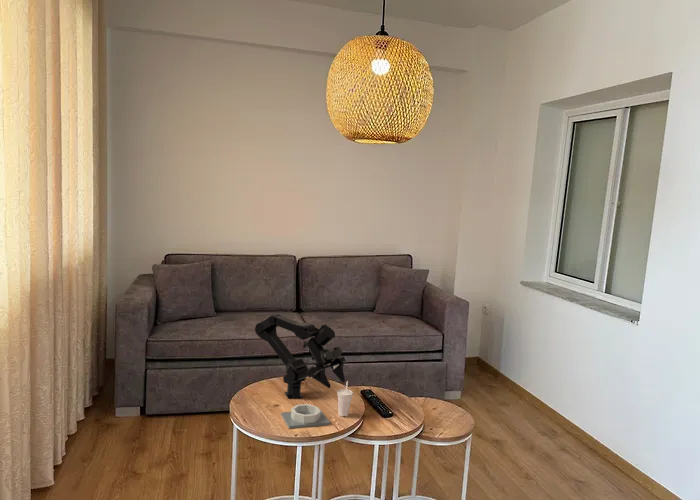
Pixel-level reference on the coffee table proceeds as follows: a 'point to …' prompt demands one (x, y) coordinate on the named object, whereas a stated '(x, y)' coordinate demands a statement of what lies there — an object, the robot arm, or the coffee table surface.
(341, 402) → the smoothie
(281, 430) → the coffee table surface
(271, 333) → the robot arm
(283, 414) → the bottle stand
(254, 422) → the coffee table surface
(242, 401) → the coffee table surface
